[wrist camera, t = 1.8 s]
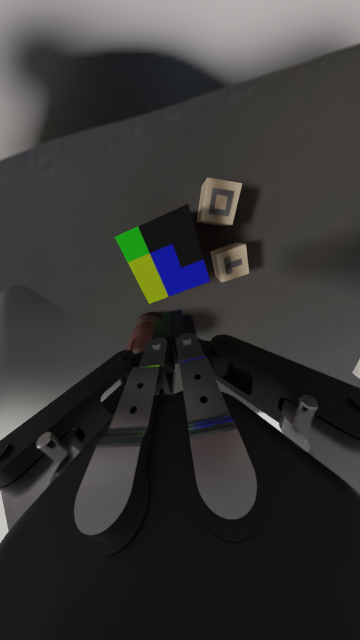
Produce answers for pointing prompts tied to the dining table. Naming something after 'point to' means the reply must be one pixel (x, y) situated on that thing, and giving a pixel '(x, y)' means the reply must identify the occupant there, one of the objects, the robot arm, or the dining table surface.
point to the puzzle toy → (165, 255)
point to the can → (142, 333)
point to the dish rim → (357, 370)
